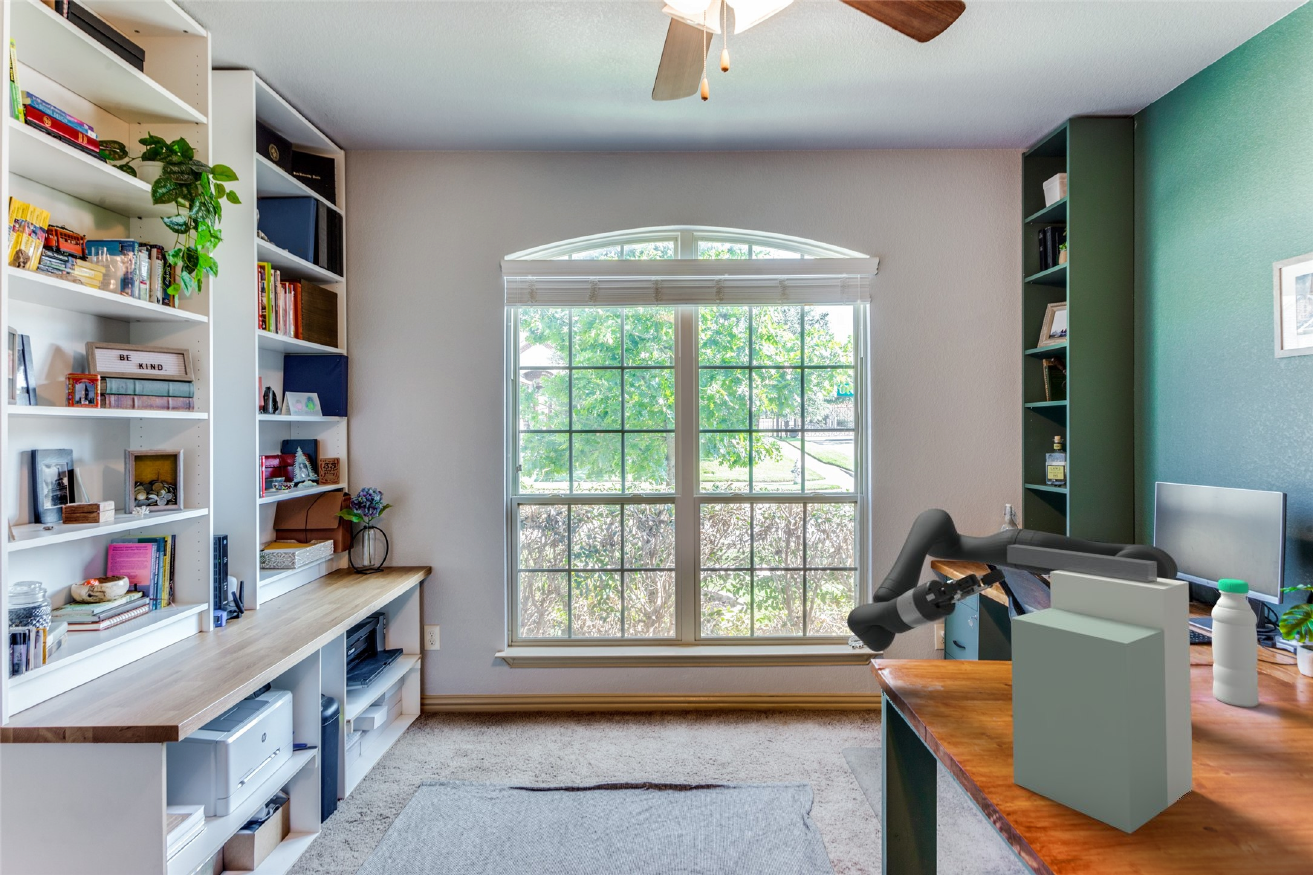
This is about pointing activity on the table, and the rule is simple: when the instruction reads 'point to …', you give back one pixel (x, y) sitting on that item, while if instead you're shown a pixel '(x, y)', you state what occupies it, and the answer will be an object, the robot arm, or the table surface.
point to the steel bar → (1084, 563)
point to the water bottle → (1234, 646)
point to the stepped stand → (1104, 697)
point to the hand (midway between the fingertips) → (989, 575)
